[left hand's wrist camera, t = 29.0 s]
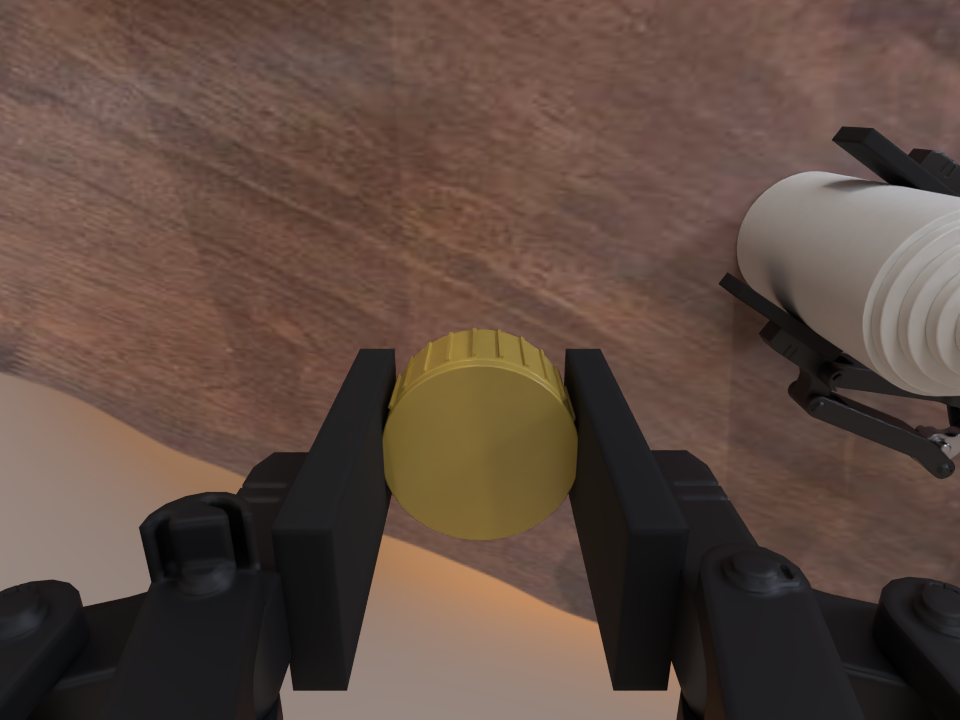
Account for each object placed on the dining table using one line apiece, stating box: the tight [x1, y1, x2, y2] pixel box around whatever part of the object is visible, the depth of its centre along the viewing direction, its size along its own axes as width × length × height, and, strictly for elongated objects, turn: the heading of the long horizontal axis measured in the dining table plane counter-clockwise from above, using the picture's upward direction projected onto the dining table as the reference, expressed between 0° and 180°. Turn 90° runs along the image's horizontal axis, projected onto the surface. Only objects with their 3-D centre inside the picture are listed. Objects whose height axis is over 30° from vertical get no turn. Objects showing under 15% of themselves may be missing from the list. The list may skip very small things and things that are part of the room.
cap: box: [382, 328, 578, 540], centre depth 14 cm, size 4×4×2 cm
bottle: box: [737, 171, 960, 396], centre depth 30 cm, size 8×8×20 cm
